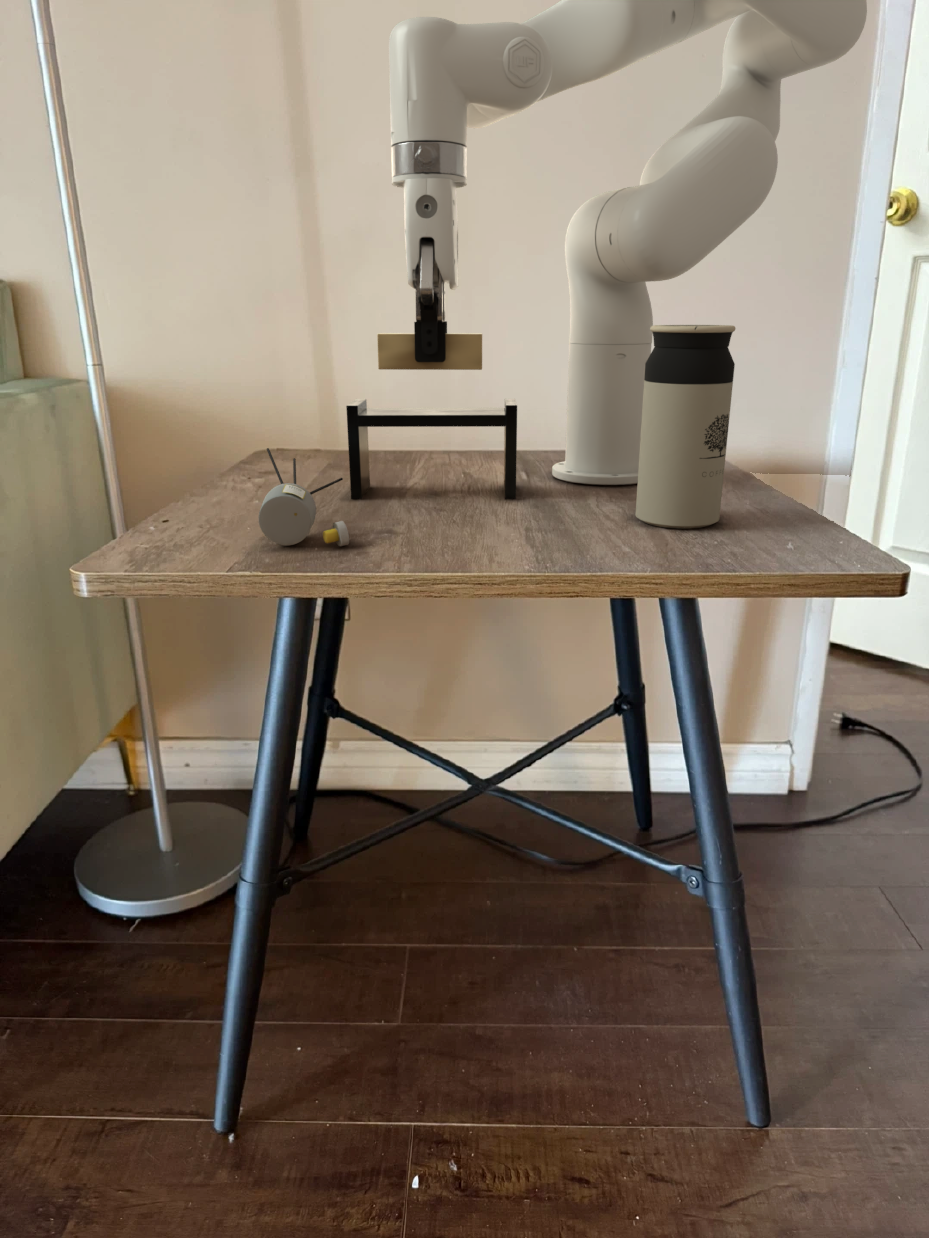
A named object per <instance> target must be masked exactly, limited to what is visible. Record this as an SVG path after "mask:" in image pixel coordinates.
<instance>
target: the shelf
mask: <svg viewBox="0 0 929 1238" xmlns="http://www.w3.org/2000/svg"><path fill="white" fill-rule="evenodd" d="M367 404H368V402H367V398H355V399H354V400H352V401H351V402H349V403H348V404H347V405H346V406H345V407H346V409H345V410H346V426H347V445H348V446H347V447H348V465H349V486H350V487H349V488H350V499H351V500H362V499H363V498H364V497H365V495H366V494H367V492H368V491H369V489H370V488H371V477H370V475H371V474H370V472H371V471H370V451H369V450H370V449H369V429H368V428H371V427H372V428H381V427H382V428H395V427H396V428H400V427H401V428H411V427H412V428H414V427H417V428H419V427H421V428H425V427H427V428H428V427H429V428H432V427H434V428H437V427H438V428H439V427H441V428H442V427H443V428H444V427H447V428H449V427H450V428H451V427H453V428H454V427H457V428H458V427H463V428H465V427H466V428H468V427H476V428H477V427H478V428H480V427H481V428H482V427H485V428H486V427H489V428H490V427H494V428H495V427H497V428H498V427H501V428H503V429H504V431H503V433H504V434H503V436H504V437H503V494H504V500H516V499H517V453H518V449H517V447H518V404H517V400H516V398H504V407H368V405H367Z"/></svg>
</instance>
